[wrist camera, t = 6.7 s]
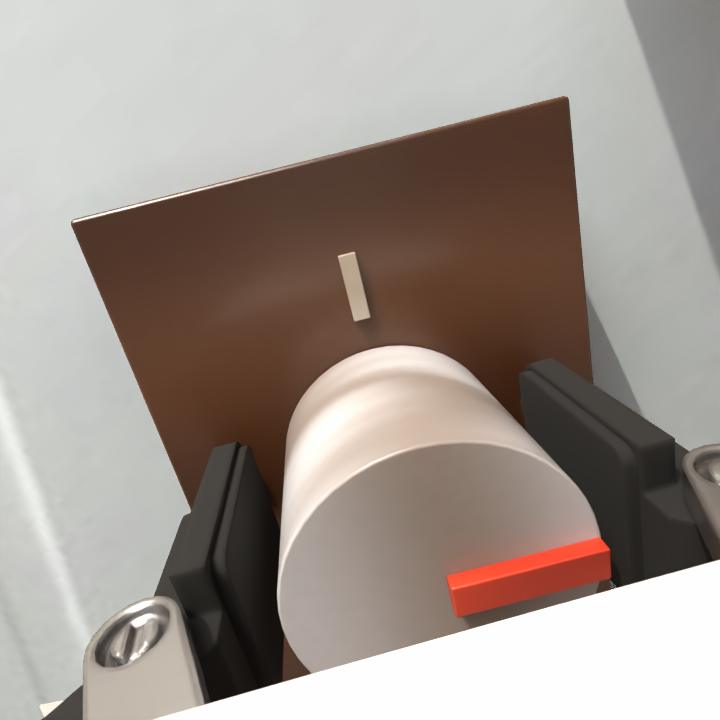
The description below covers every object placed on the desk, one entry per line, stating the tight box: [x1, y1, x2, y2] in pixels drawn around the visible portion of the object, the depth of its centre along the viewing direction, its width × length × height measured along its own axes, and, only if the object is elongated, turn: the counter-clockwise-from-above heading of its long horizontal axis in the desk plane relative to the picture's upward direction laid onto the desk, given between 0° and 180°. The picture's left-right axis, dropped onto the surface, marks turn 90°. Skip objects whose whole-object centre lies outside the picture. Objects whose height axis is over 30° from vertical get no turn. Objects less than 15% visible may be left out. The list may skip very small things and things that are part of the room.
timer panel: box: [71, 96, 611, 682], centre depth 13 cm, size 13×10×3 cm
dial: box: [277, 346, 612, 674], centre depth 10 cm, size 5×5×5 cm
